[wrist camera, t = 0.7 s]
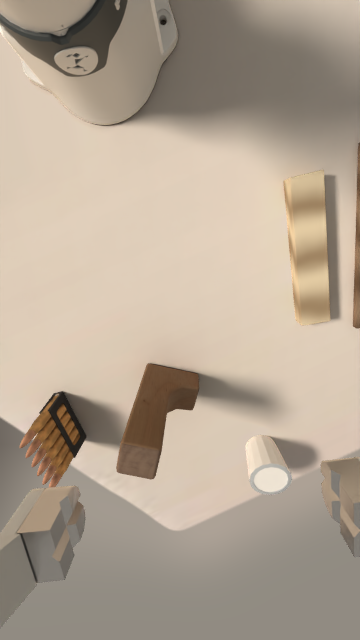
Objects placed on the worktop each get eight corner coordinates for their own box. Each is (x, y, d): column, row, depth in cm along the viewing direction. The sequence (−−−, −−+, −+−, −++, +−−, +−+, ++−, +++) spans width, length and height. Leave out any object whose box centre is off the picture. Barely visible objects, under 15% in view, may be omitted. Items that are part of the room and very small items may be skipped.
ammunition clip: (86, 437, 51) (56, 496, 40) (78, 439, 52) (45, 498, 40) (62, 391, 48) (22, 441, 37) (53, 393, 48) (11, 444, 37)
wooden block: (199, 373, 46) (202, 459, 29) (193, 394, 47) (193, 489, 30) (147, 362, 45) (120, 442, 28) (143, 384, 47) (114, 473, 30)
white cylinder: (250, 428, 49) (259, 459, 42) (285, 438, 49) (299, 471, 43) (236, 455, 51) (243, 489, 44) (269, 465, 51) (281, 500, 45)
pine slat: (282, 181, 36) (290, 177, 33) (313, 174, 35) (323, 169, 33) (294, 319, 42) (302, 325, 39) (321, 314, 42) (330, 320, 39)
